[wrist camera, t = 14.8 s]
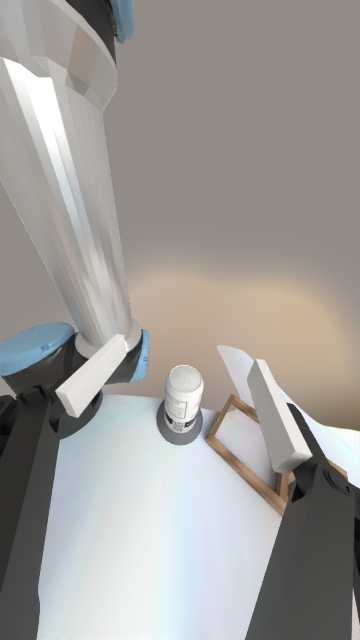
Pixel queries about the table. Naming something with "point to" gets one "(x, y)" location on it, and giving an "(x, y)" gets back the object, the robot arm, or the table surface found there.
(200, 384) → the supplement can
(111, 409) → the table surface
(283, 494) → the parts tray
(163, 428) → the coaster
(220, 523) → the table surface
